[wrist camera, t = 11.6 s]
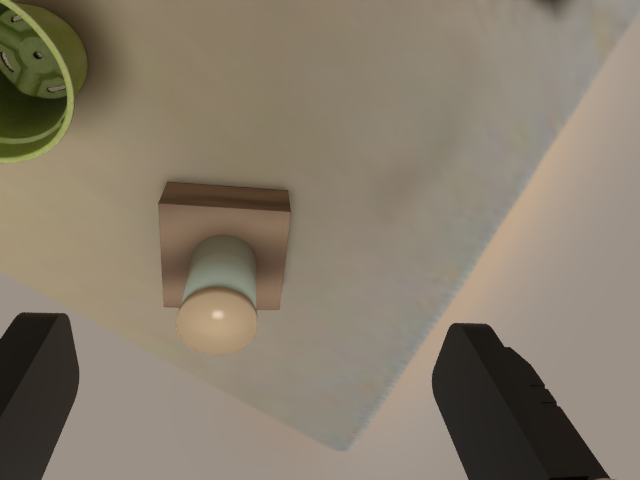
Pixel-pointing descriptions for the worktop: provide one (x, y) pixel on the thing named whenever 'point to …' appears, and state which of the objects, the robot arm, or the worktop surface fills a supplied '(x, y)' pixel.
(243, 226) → the plinth
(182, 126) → the worktop surface
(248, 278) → the jar
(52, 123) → the plant pot
